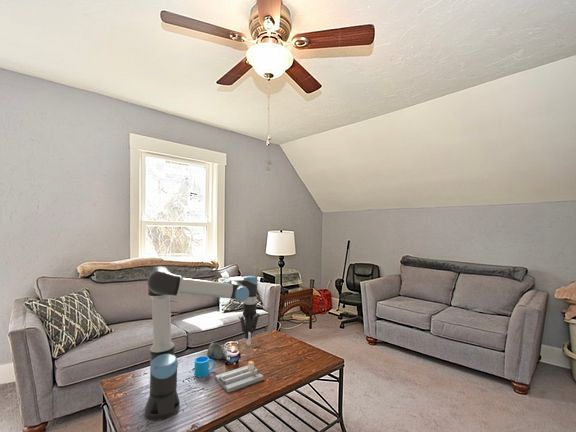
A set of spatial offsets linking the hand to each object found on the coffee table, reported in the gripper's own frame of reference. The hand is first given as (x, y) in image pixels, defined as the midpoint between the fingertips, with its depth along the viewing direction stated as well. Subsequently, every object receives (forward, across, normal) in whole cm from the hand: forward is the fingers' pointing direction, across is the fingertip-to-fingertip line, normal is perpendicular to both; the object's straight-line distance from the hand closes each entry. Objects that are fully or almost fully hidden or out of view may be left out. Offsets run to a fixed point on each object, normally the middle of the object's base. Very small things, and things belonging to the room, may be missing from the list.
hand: (248, 344), depth 167 cm
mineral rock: (+19, -5, +31) cm, 37 cm away
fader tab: (+16, +2, 0) cm, 17 cm away
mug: (+19, -18, +18) cm, 32 cm away
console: (+19, -5, 0) cm, 19 cm away
